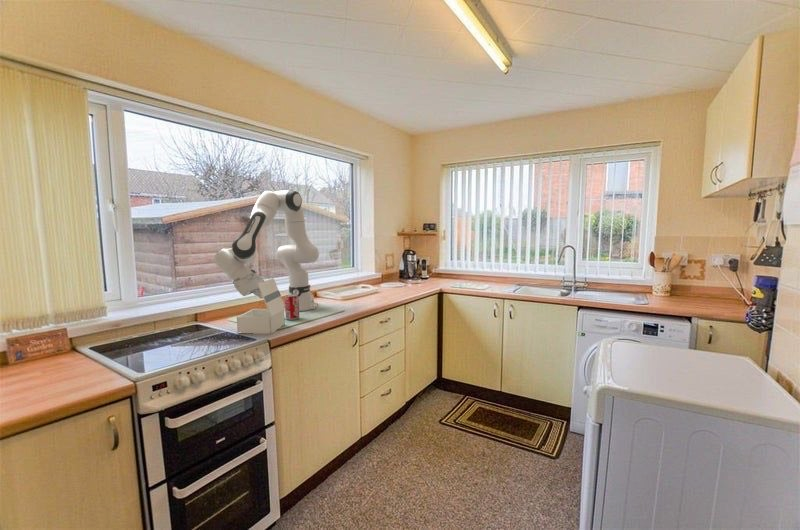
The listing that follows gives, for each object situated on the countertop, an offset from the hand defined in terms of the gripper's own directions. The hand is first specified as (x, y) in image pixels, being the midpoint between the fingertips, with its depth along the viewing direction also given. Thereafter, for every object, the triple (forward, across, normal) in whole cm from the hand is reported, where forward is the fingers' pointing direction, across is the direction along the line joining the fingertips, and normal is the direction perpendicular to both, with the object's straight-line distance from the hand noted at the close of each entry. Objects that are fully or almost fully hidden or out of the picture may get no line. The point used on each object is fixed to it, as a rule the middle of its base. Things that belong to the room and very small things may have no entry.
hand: (263, 297), depth 167 cm
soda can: (+16, +19, +7) cm, 26 cm away
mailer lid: (+3, 0, -3) cm, 4 cm away
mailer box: (+10, 0, +12) cm, 16 cm away
